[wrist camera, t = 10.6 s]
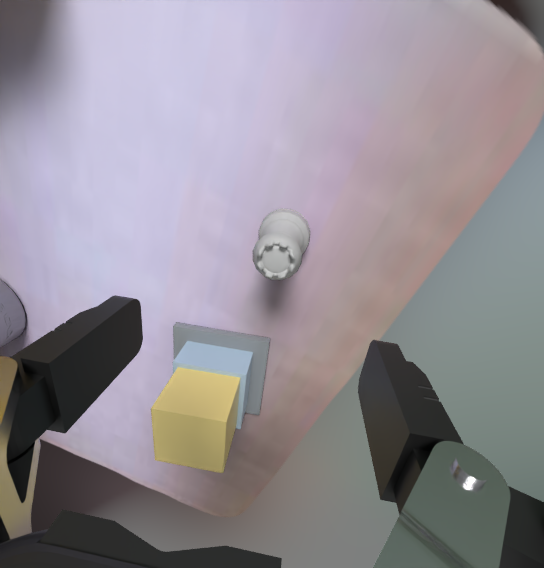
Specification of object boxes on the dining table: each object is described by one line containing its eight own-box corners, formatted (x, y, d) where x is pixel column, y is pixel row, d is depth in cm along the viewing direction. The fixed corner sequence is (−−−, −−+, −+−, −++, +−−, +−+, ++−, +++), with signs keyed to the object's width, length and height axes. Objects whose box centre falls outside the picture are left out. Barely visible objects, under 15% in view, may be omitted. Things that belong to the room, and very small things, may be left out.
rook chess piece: (290, 267, 26) (283, 306, 19) (250, 238, 26) (227, 268, 18) (321, 228, 25) (326, 254, 17) (279, 196, 24) (266, 210, 17)
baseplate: (177, 394, 34) (160, 424, 30) (176, 322, 30) (156, 345, 26) (260, 409, 34) (253, 442, 30) (270, 338, 30) (264, 364, 26)
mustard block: (179, 413, 29) (155, 460, 25) (177, 367, 27) (151, 408, 22) (236, 424, 29) (223, 473, 24) (240, 377, 27) (226, 422, 22)
